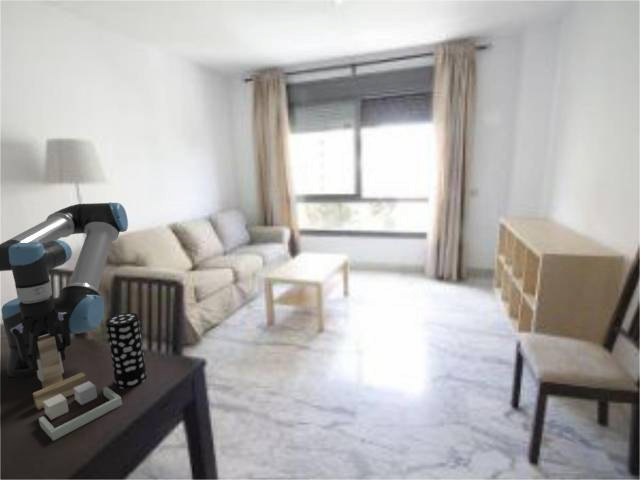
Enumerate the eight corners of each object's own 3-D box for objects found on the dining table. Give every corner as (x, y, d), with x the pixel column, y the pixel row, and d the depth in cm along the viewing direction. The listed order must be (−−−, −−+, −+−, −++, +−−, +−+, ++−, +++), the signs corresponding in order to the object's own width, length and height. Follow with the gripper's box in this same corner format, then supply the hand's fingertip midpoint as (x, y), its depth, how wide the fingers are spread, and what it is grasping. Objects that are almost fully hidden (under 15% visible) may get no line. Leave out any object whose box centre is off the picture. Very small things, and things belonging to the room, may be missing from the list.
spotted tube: (134, 390, 105) (124, 325, 101) (109, 387, 107) (98, 323, 103) (152, 374, 113) (144, 313, 109) (129, 371, 115) (120, 312, 111)
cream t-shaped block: (26, 396, 103) (15, 344, 100) (74, 376, 113) (65, 328, 109) (38, 409, 98) (27, 355, 94) (87, 387, 107) (79, 336, 104)
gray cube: (75, 400, 102) (73, 387, 101) (91, 393, 105) (89, 380, 104) (81, 406, 99) (79, 393, 98) (97, 398, 102) (95, 385, 102)
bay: (40, 427, 92) (38, 418, 91) (107, 394, 104) (106, 386, 104) (53, 441, 87) (51, 432, 86) (122, 405, 99) (121, 397, 99)
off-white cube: (45, 415, 96) (42, 401, 95) (63, 406, 99) (60, 393, 98) (51, 421, 94) (48, 407, 93) (69, 412, 97) (66, 399, 96)
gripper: (0, 312, 92) (18, 395, 97) (76, 292, 105) (89, 365, 110) (-9, 305, 97) (9, 385, 101) (65, 287, 110) (78, 358, 115)
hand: (51, 375), depth 106 cm, fingers closed on cream t-shaped block, 4 cm apart
